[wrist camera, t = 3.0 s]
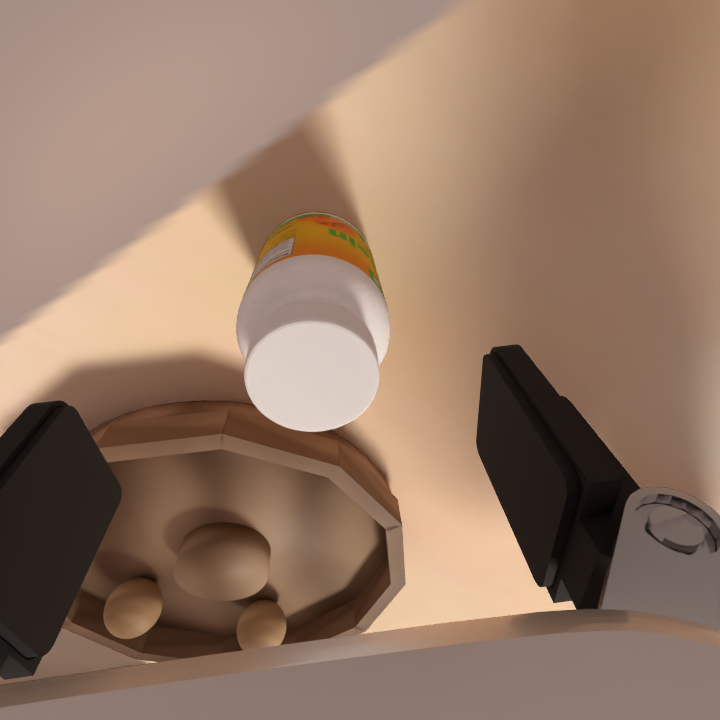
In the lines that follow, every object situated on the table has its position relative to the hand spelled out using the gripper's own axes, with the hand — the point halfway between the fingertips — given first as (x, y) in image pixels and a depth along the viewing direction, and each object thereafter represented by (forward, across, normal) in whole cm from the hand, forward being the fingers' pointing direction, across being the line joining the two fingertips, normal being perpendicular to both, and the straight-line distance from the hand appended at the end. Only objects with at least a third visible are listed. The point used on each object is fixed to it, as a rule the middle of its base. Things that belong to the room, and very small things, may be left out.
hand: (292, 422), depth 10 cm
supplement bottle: (+12, -1, +1) cm, 12 cm away
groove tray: (+12, +8, +20) cm, 25 cm away
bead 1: (+11, +15, +22) cm, 29 cm away
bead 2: (+10, +7, +27) cm, 29 cm away
